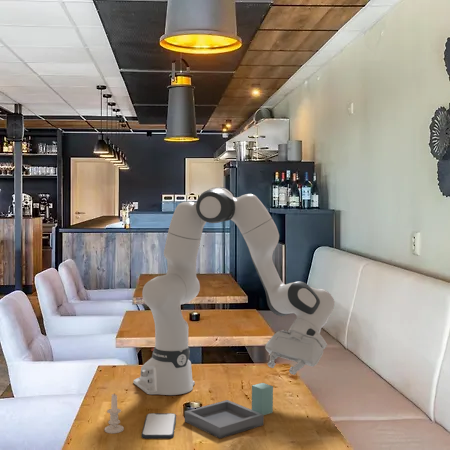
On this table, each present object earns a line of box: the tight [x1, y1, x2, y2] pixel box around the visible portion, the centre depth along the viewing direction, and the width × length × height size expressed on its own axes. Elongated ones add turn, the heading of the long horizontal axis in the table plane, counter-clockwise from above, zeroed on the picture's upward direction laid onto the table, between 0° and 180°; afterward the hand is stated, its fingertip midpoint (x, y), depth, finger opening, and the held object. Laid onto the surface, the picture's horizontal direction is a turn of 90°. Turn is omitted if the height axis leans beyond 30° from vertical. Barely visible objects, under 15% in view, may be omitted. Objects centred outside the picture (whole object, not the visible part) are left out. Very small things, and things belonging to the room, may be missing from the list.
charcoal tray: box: [184, 399, 265, 440], centre depth 172 cm, size 16×16×3 cm
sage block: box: [251, 382, 274, 416], centre depth 181 cm, size 4×4×8 cm
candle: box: [104, 393, 125, 434], centre depth 166 cm, size 5×5×10 cm
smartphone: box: [141, 412, 177, 440], centre depth 168 cm, size 9×2×16 cm
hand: (280, 369), depth 186 cm, fingers open, 8 cm apart
